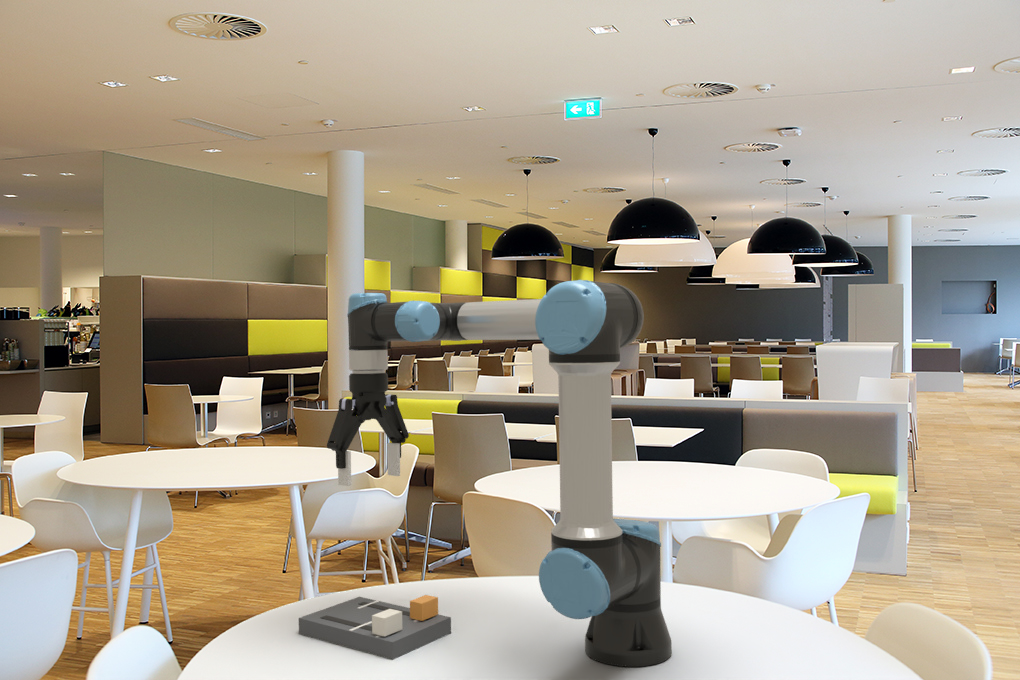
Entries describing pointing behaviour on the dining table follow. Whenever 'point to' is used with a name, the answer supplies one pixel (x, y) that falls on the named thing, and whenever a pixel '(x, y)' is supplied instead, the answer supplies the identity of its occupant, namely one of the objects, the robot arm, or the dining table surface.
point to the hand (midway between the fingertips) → (370, 480)
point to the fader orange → (423, 607)
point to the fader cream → (387, 622)
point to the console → (355, 628)
